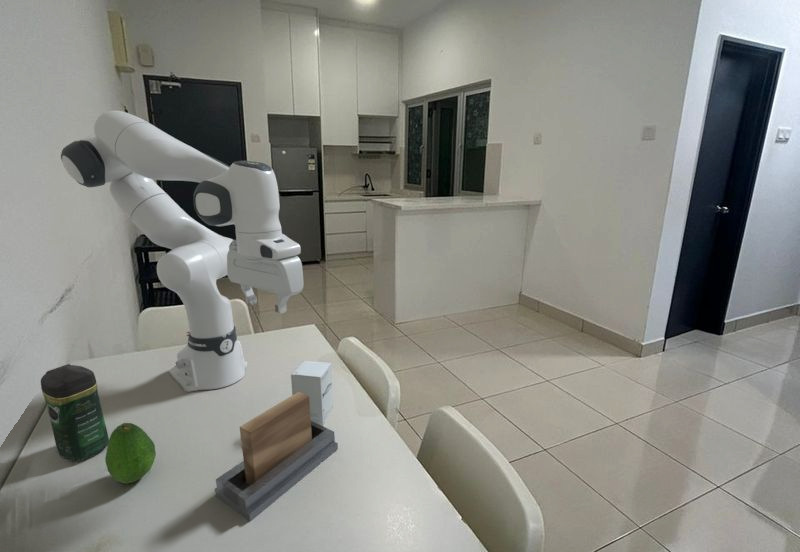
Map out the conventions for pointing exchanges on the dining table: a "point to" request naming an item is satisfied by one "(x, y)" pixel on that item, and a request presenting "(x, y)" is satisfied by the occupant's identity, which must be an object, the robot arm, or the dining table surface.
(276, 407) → the door panel
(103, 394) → the dining table surface
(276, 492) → the tray
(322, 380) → the supplement box
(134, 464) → the avocado
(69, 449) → the coffee jar
